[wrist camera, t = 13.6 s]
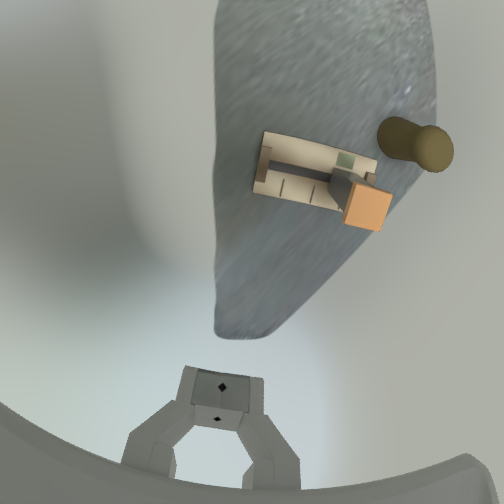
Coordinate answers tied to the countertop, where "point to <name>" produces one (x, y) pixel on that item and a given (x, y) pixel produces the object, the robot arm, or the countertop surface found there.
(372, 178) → the fader board
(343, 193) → the fader knob
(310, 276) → the countertop surface
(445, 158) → the cork
